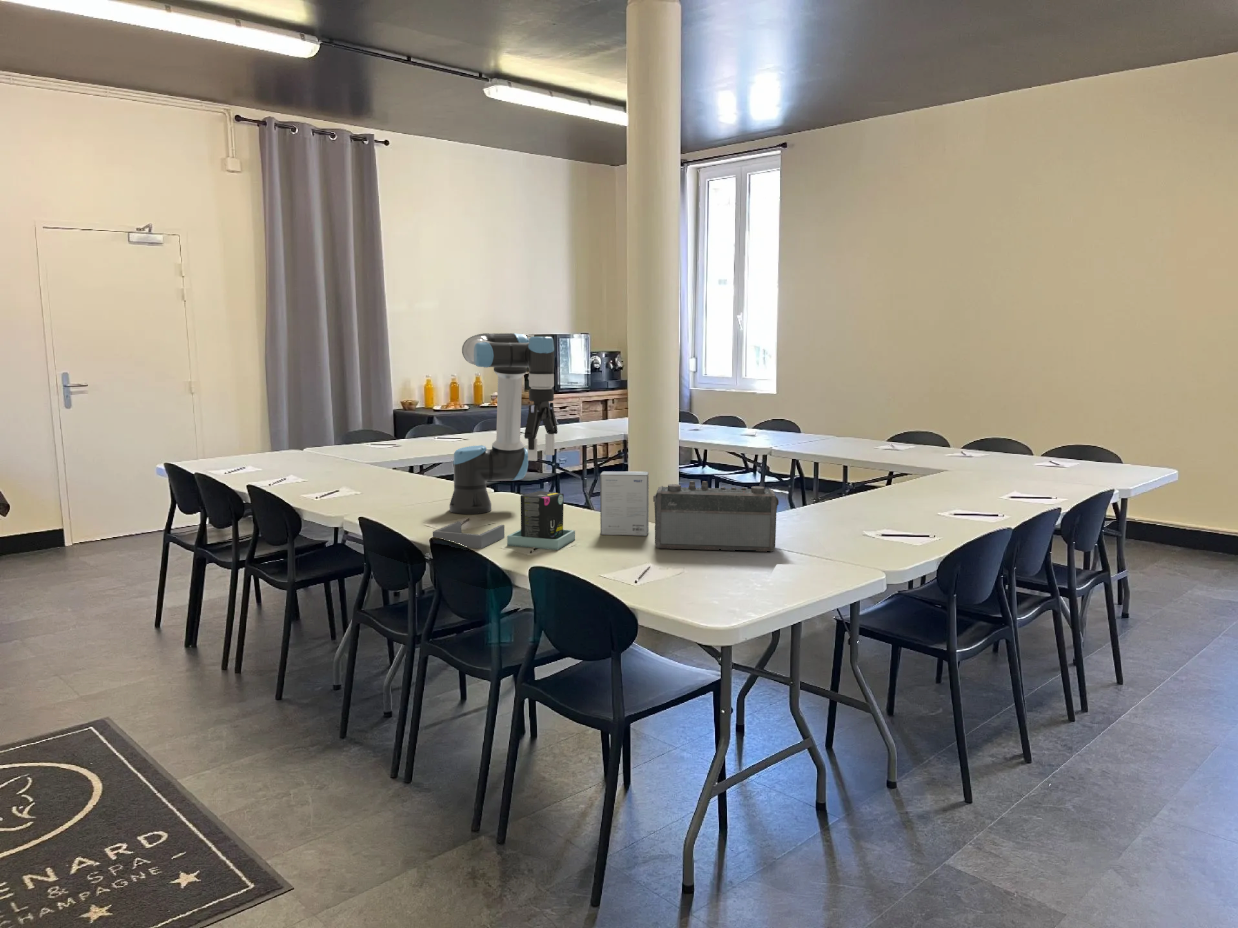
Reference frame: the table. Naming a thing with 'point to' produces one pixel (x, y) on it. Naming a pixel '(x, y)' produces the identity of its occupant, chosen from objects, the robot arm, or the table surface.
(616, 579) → the table surface
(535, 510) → the tampon box
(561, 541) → the tray
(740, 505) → the radio
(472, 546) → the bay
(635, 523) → the hard drive box
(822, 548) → the table surface
